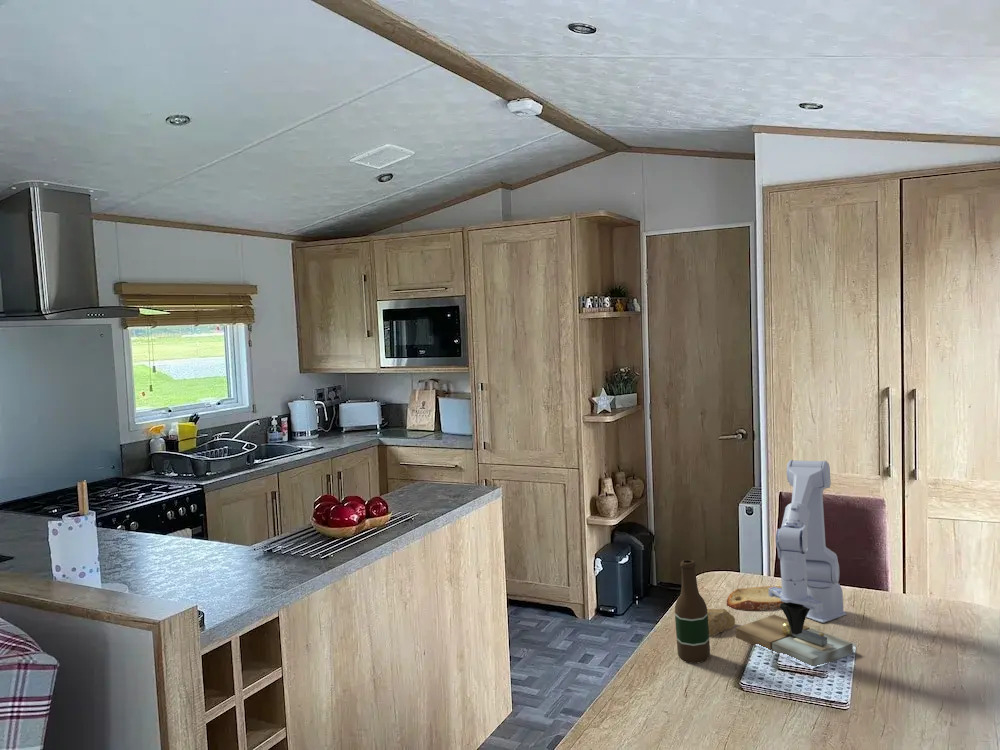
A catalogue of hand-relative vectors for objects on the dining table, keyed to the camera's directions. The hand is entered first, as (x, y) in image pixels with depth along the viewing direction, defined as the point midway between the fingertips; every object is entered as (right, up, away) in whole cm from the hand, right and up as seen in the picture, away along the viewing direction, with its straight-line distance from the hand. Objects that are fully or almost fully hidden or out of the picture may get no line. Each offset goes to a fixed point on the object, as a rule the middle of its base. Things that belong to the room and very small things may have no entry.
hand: (797, 632), depth 192 cm
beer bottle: (-23, -8, +6) cm, 25 cm away
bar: (+3, -3, +5) cm, 7 cm away
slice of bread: (+5, -4, +38) cm, 39 cm away
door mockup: (+1, -6, +9) cm, 10 cm away
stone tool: (-14, -6, +22) cm, 26 cm away
